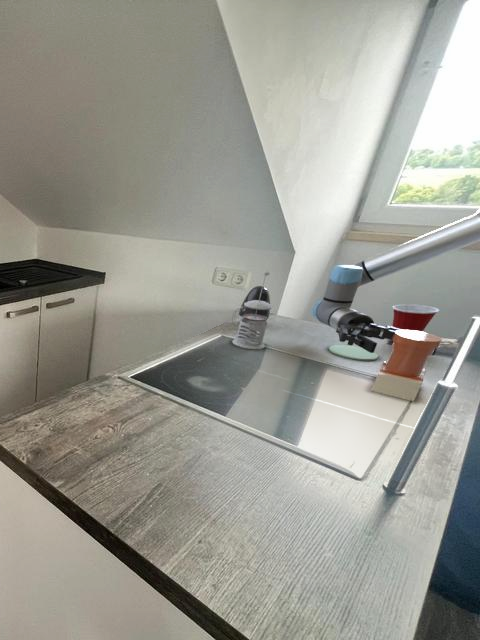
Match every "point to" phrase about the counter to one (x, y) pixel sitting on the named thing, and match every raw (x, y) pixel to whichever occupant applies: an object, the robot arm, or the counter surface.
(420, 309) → the plastic cup
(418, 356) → the terracotta pot
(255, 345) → the french press
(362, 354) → the mat
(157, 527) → the counter surface
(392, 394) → the box with red stripes
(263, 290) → the black rounded piece
